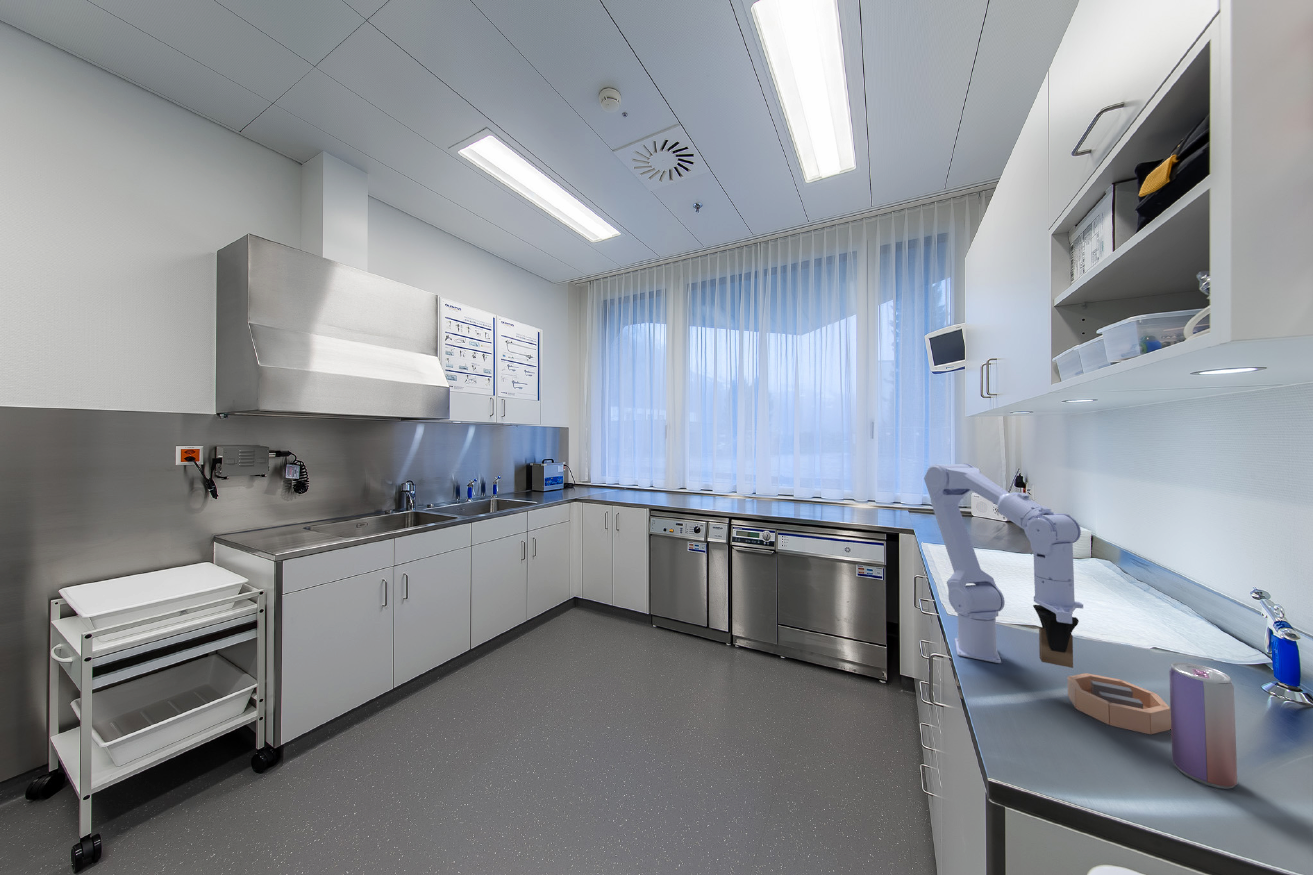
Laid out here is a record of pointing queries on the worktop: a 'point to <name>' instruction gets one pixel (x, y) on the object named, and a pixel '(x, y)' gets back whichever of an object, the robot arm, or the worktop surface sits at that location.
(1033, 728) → the worktop surface
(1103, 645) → the worktop surface
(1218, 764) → the beverage can
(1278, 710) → the worktop surface
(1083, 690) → the tan octagonal tray
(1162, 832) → the worktop surface
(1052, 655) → the brown rectangular block
